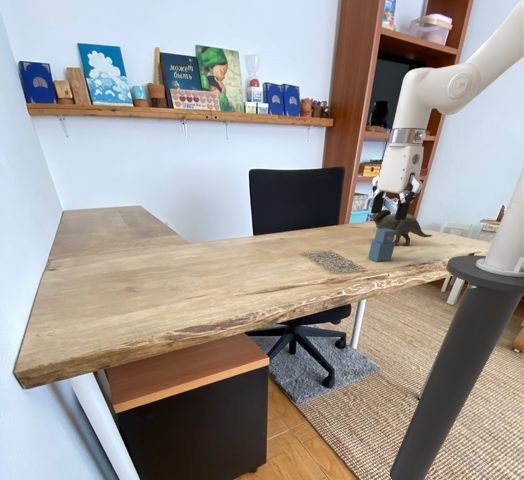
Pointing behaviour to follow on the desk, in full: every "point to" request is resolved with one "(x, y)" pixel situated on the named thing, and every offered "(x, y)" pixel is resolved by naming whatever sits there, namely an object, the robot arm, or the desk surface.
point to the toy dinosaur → (398, 225)
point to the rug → (334, 261)
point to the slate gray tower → (382, 245)
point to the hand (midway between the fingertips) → (387, 216)
